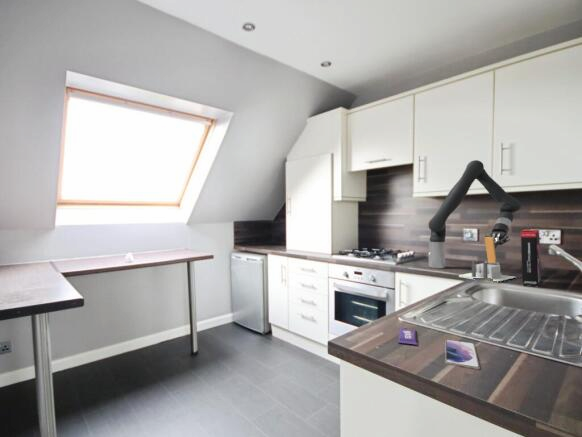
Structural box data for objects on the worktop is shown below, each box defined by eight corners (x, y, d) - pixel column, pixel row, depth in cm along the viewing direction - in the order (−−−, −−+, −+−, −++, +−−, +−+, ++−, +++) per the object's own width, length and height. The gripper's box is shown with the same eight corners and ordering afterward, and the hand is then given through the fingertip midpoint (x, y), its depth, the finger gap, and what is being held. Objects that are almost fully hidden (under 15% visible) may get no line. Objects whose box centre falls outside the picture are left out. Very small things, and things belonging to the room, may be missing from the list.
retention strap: (488, 264, 176) (484, 237, 174) (489, 263, 177) (485, 237, 175) (495, 265, 172) (492, 238, 170) (497, 264, 173) (493, 237, 171)
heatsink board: (458, 276, 174) (458, 260, 174) (477, 273, 185) (477, 257, 185) (497, 283, 157) (497, 264, 157) (515, 278, 168) (515, 261, 168)
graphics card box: (538, 287, 146) (538, 230, 146) (520, 285, 151) (520, 230, 151) (540, 282, 159) (540, 229, 159) (524, 280, 164) (523, 229, 164)
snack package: (417, 341, 83) (397, 338, 84) (417, 348, 83) (397, 345, 84) (416, 326, 93) (398, 324, 95) (416, 332, 93) (398, 331, 95)
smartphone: (445, 362, 73) (445, 339, 86) (445, 365, 73) (445, 342, 86) (480, 368, 70) (474, 343, 83) (480, 371, 70) (474, 346, 83)
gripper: (487, 222, 185) (477, 244, 178) (512, 222, 173) (502, 245, 167) (492, 231, 187) (482, 252, 181) (517, 231, 176) (507, 254, 169)
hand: (491, 249), depth 174 cm, fingers closed
